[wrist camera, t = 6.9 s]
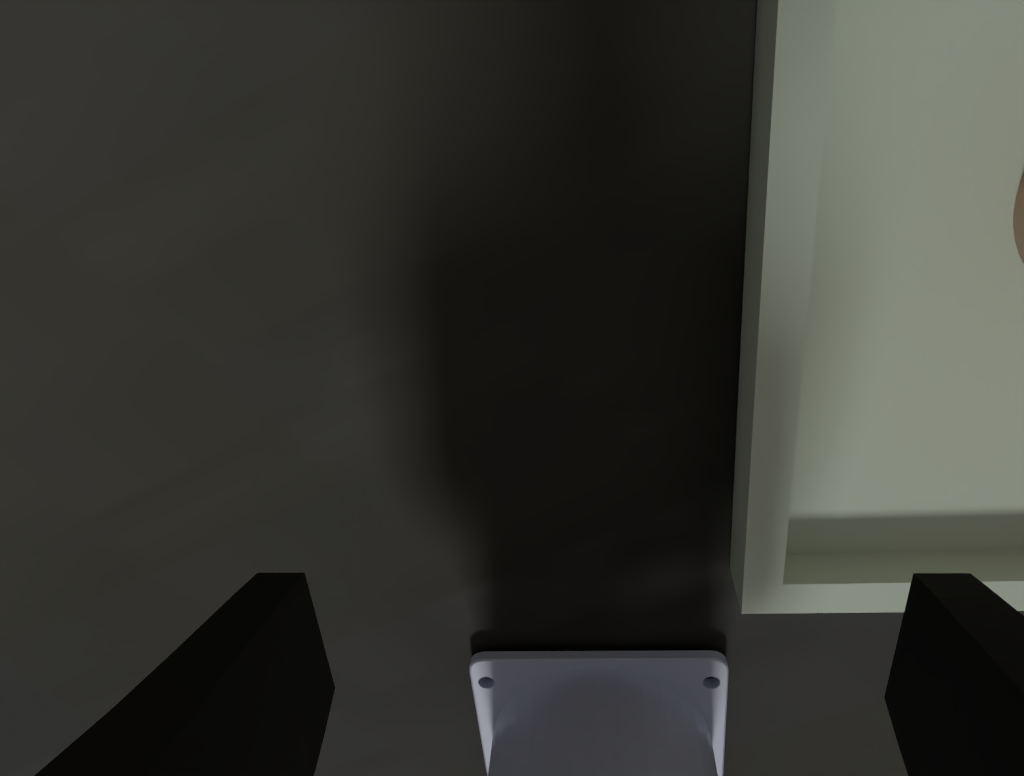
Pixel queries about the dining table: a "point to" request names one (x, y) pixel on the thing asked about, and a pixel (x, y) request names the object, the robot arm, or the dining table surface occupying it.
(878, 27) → the tray
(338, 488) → the dining table surface
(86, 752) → the robot arm
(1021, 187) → the tan cylinder
